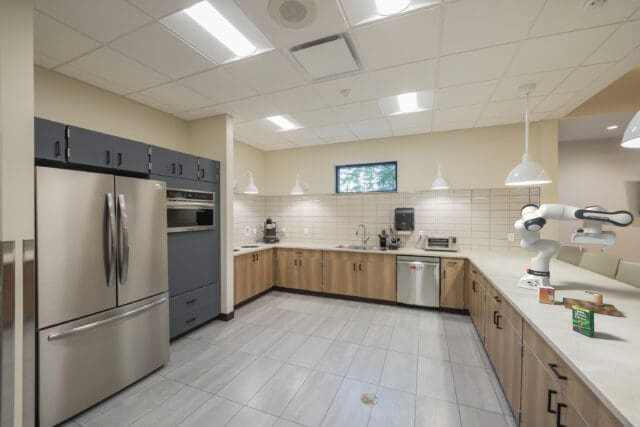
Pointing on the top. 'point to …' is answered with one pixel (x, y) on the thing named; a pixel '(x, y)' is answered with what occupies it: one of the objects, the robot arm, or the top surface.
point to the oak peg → (598, 300)
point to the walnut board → (591, 306)
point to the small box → (546, 295)
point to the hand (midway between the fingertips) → (592, 251)
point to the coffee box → (583, 320)
